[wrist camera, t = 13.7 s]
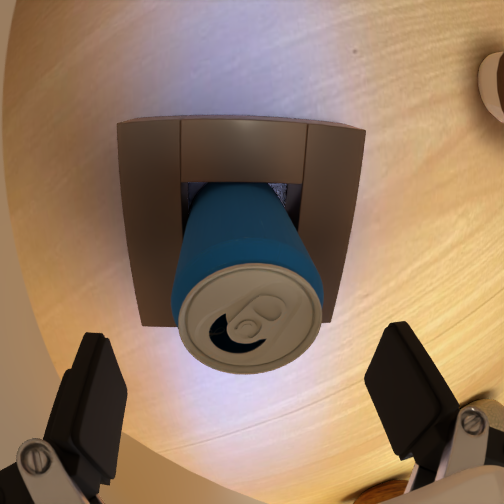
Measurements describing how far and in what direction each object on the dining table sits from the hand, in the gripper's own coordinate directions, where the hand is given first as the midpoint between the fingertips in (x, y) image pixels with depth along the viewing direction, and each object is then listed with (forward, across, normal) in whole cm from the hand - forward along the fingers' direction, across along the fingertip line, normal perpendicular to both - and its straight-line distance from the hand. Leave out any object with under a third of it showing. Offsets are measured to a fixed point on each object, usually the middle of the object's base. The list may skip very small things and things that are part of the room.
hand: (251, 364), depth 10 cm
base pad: (+14, 0, 0) cm, 14 cm away
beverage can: (+14, 0, 0) cm, 14 cm away
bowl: (+12, -43, +82) cm, 94 cm away
